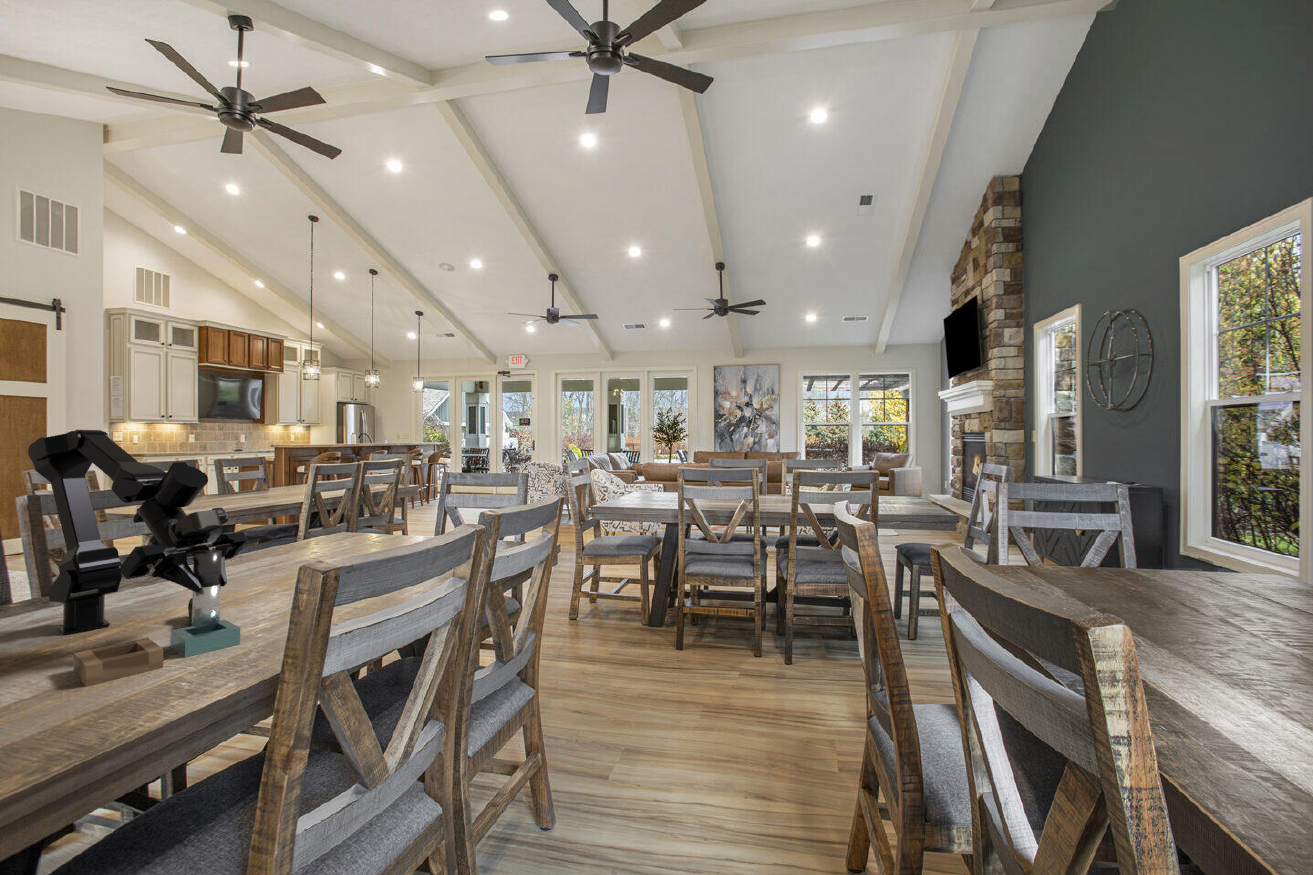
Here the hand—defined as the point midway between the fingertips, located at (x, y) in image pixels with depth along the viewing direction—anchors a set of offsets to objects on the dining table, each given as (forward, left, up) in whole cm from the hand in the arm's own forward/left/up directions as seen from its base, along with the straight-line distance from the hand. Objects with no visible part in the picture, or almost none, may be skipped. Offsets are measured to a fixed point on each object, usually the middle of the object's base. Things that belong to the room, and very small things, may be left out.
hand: (212, 587), depth 102 cm
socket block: (-1, 0, -11) cm, 11 cm away
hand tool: (-16, +2, -11) cm, 19 cm away
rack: (+1, -12, -11) cm, 16 cm away
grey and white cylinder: (-1, 0, -7) cm, 7 cm away
